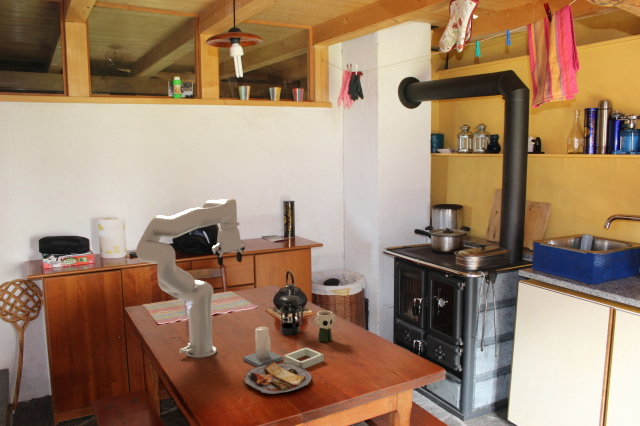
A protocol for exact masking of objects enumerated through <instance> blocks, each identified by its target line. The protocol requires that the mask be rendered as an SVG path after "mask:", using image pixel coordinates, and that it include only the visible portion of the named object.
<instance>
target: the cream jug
mask: <svg viewBox="0 0 640 426" xmlns="http://www.w3.org/2000/svg"><path fill="white" fill-rule="evenodd" d="M254 332H255V337H254V338H255V353H256V358H257V359H261V360H263V359H267V358H269V351H271V348H272V347H271V343H272V342H271V335H270V331H269V327H266V326H258V327H256V328H255V331H254ZM271 352H272V351H271Z"/></svg>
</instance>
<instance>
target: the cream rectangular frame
mask: <svg viewBox="0 0 640 426" xmlns="http://www.w3.org/2000/svg"><path fill="white" fill-rule="evenodd" d="M303 357H309V358H306V359H303V360H298V359H301V358H303ZM322 362H324V353H321V352H318V351H316V350H314V349H311V348H309V347H303V348H301V349H298V350H294V351H292V352H289V353H287V354H284V355H283V364H290V365H294V366H296V367H297V366H298V367H300V368H303V370H304V369H305V370H306V369H307V368H309V367H312V366H315V365H317V364H320V363H322Z"/></svg>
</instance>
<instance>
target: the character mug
mask: <svg viewBox="0 0 640 426" xmlns="http://www.w3.org/2000/svg"><path fill="white" fill-rule="evenodd" d="M335 322H336V314H334V313H333V312H332V311H331V310H319V311H318V312H317V314H316V318H314V326H317V328H319V330H318V338H317V340H318V341H320V342H326V343H328V342H331V341H332V340H333V337H332V336H333V335H332V329H331V328H332V327H333V325H334V323H335Z"/></svg>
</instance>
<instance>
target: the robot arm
mask: <svg viewBox="0 0 640 426" xmlns="http://www.w3.org/2000/svg"><path fill="white" fill-rule="evenodd" d="M237 205H238V204H237V200H236V199H235V198H222V199H216V200H215V199H211V200H207V201H205V202H204V203H203V205H202V207H195V208H189V209H186V210H184V211H182V212H178V213H176V214H174V215H170V216H167V215H156V216H154V217H152V219H151V220H150V221H149V223H148V225H147V226H146V228H145V230H144V231H143V234H142V236H141V238H140V239H139V240H138V244H137V246H136V250H135V253H136V256H137V258H138V259H139V260H140V261H141V262H145V263H150V264H156V265H157V269H156V271H157V276H156V277H157V284H158V286H159V288H160V289H161V291H163V292H165V293H167V294H168V295H170V296H172V297H174V298H176V299H178V300H180V301H185V302H188V303H191V306H190V308H189V311H188V329H189V332H188V333H189V334H188V335H189V342H188V343H187V345H186V346H185V347H182V348H179V349H178V350H179V353H180V354H183V353H185V354H186V355H187V356H188V357H190V358H192V359H193V358H195V359H201V358H207V357H208V358H209V357H211V356H213V355H214V354H216V353H217V347H216V346H214V345H213V323H212V322H213V320H212V319H213V318H212V304H213V297H214V288H213V286H212V285H211V283H210V282H207V281H205V280H204V281H203V280H199V279H195V278H194V276H193V275H192V274H191V273H190V272H188V271H186V270H184V269H182V268H181V267H179V266H178V265H177V264H176V251H175V249H174V247H173V246H172V245H171V244H169V243H167V242H162V241H161V238H167V239H169V238H170V239H176V238H178V237H181V236H183V235H185V234H187V233H189V232H192V231H194V230H196V229H197V230H198V229H201V228H205V227H209V226H213V225H218V224H219V227H220V228H219V229H218V231H217V240H216V241H217V242H216V244H215V245H213V246H212V247H211V250H212V252H213V255H215V256H216V257H217V259H216V260H217V265H218V266H220V267H222V266H223V265H224V257H223V255H224V253H228V252H229V253H231V252H235V251H236V262H239V263H242V260H243V254H244V253H243V252H244V251H245V249H246V246H247V242H244V241H242V240H241V235H240V231H239V228H238V226H239V225H240V222H238V211H237V210H238V209H237V208H238V206H237Z"/></svg>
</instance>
